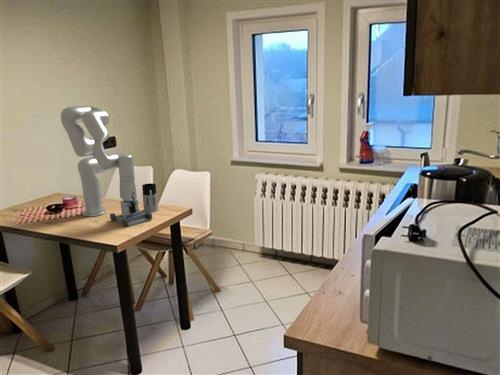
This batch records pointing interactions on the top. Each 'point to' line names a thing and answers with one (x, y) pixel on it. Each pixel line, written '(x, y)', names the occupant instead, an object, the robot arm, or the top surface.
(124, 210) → the medicine box
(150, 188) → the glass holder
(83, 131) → the robot arm
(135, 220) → the chassis
